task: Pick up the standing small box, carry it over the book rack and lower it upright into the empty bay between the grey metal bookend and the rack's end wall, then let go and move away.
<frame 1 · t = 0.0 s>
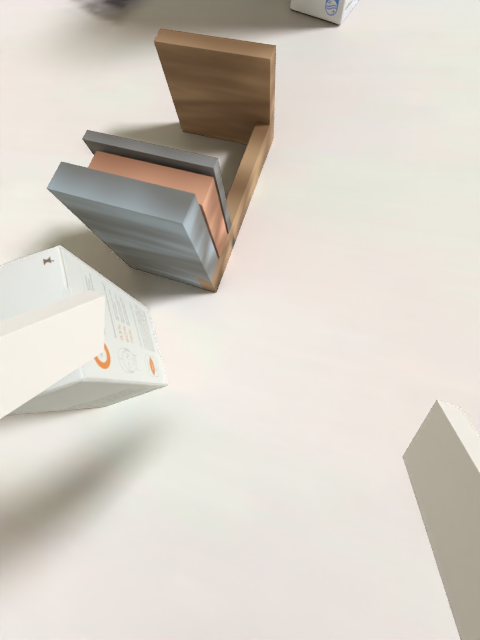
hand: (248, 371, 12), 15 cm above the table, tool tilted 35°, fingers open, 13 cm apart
small box: (128, 356, 28), on the table
book rack: (201, 203, 32), on the table
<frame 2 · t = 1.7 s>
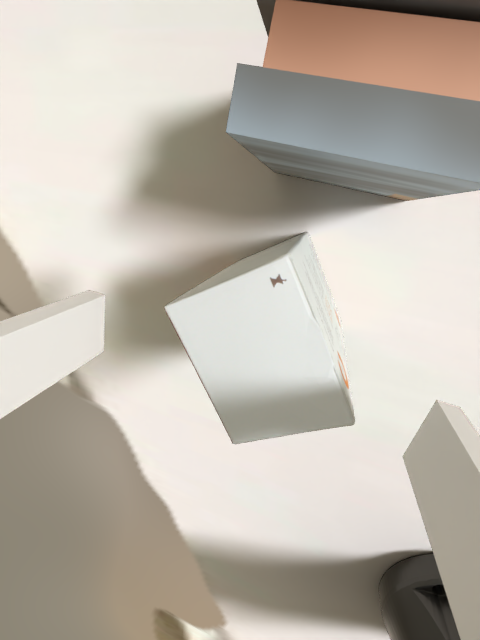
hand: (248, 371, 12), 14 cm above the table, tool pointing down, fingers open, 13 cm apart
small box: (289, 291, 25), on the table
book rack: (384, 24, 18), on the table
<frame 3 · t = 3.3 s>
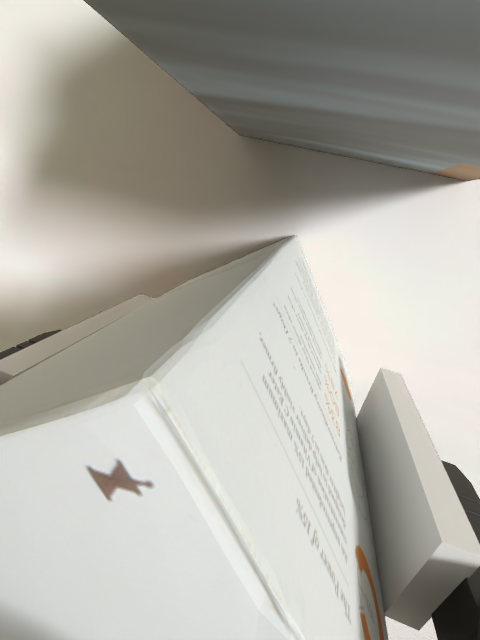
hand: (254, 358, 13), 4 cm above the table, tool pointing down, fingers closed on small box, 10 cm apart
small box: (268, 326, 16), on the table, touching gripper
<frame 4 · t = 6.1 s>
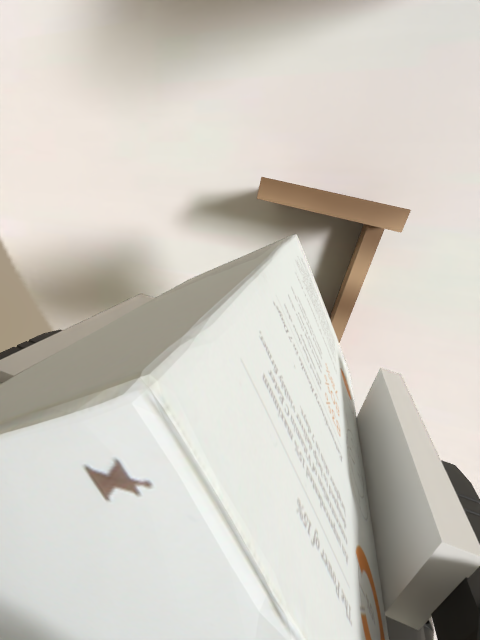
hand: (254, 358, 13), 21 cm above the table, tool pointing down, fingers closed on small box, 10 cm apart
small box: (268, 325, 16), point 18 cm above the table, touching gripper
book rack: (303, 292, 33), on the table
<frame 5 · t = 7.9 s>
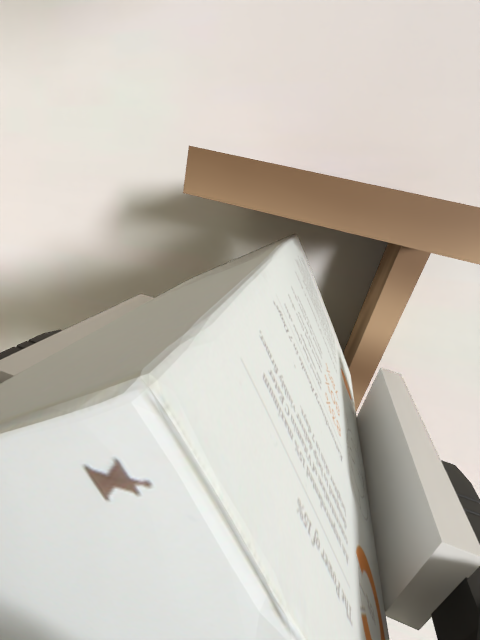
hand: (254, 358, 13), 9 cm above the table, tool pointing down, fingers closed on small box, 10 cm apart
small box: (269, 325, 16), point 5 cm above the table, touching gripper
book rack: (291, 342, 21), on the table
when the fingers open (5 cm above the table, at t = 9.1 s): small box drops 1 cm, on the table.
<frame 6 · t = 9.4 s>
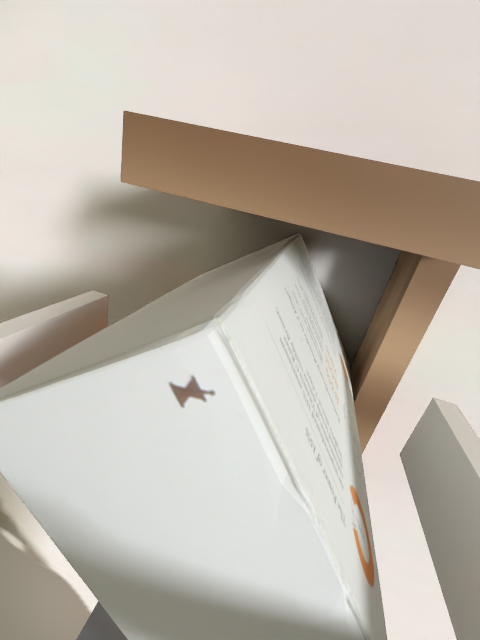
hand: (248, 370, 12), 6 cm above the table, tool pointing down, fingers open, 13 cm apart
small box: (273, 317, 17), on the table
book rack: (285, 363, 18), on the table
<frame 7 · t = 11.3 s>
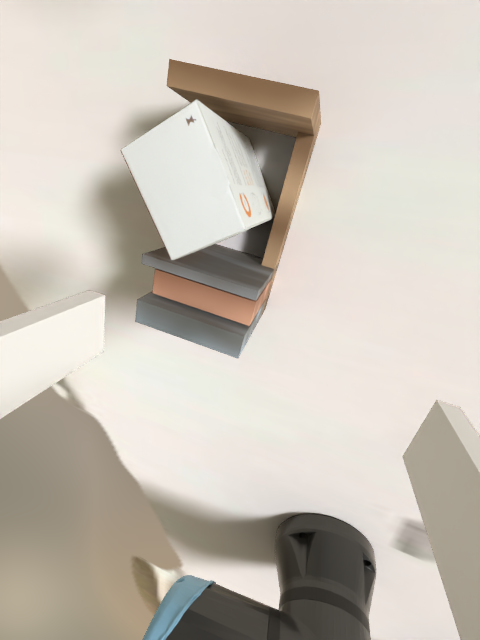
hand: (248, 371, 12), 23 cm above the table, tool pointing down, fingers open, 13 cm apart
small box: (236, 191, 31), on the table
book rack: (243, 220, 32), on the table
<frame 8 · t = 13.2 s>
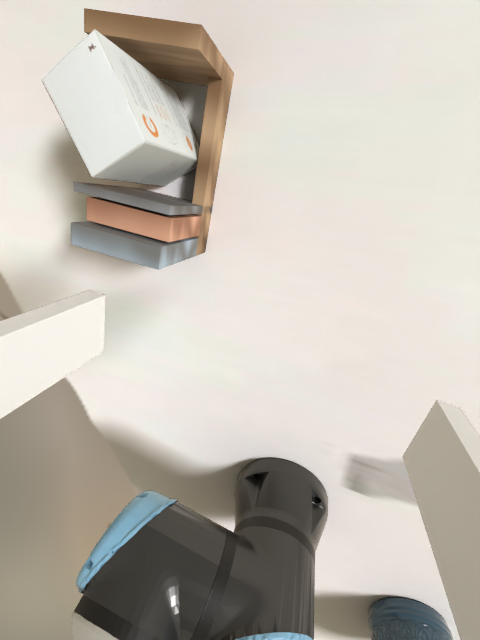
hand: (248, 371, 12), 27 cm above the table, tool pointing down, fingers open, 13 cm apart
canister: (406, 618, 53), on the table
small box: (170, 142, 35), on the table
book rack: (178, 168, 36), on the table
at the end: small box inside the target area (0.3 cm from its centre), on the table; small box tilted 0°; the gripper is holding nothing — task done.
